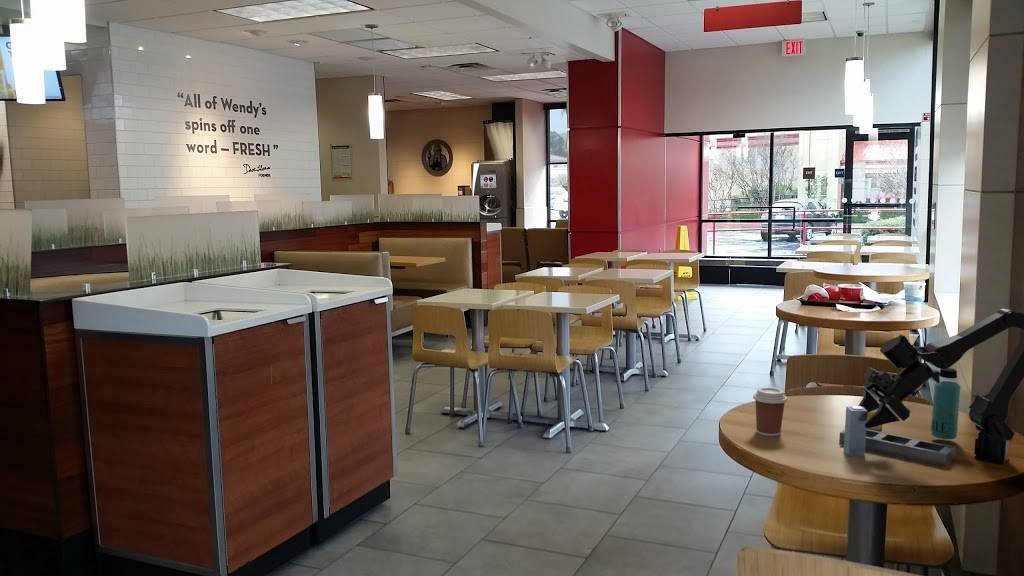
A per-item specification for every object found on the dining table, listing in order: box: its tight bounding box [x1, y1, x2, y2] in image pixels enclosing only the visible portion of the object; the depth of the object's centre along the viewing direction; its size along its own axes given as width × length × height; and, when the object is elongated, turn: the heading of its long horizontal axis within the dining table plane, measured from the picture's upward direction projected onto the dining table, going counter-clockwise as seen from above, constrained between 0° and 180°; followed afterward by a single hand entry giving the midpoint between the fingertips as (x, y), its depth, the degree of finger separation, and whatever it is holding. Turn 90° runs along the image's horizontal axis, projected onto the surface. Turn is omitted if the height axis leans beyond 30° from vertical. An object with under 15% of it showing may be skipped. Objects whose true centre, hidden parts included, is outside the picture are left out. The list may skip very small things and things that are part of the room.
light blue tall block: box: [843, 405, 868, 458], centre depth 209 cm, size 4×4×12 cm
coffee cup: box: [752, 386, 788, 437], centre depth 226 cm, size 9×9×12 cm
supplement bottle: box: [866, 402, 883, 432], centre depth 228 cm, size 5×5×8 cm
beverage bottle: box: [929, 367, 962, 440], centre depth 219 cm, size 6×7×20 cm
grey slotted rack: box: [838, 429, 956, 467], centre depth 212 cm, size 26×8×3 cm, turn 48°
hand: (859, 421), depth 209 cm, fingers open, 9 cm apart
